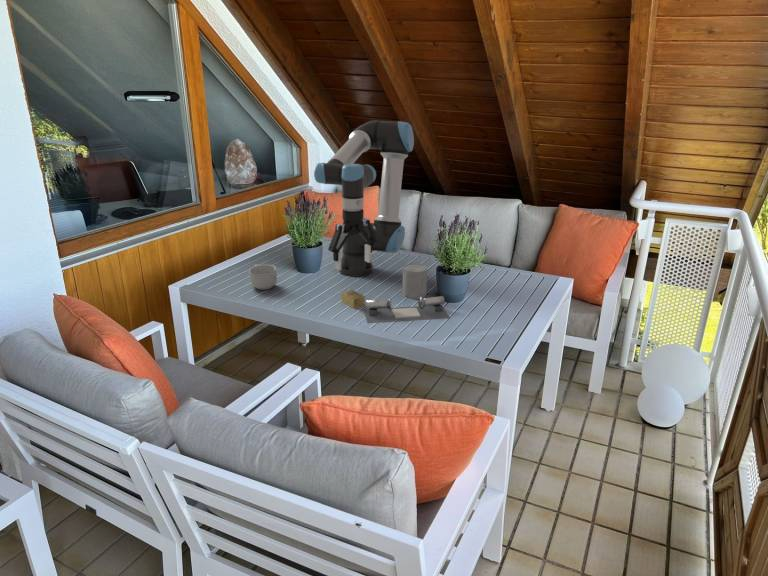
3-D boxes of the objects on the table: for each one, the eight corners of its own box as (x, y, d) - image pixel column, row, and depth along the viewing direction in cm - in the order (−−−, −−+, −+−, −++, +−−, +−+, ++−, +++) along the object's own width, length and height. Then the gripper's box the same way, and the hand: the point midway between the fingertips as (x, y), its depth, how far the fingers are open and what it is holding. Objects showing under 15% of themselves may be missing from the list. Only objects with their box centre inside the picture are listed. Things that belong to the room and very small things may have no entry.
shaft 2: (439, 306, 216) (440, 292, 214) (444, 311, 213) (445, 296, 210) (417, 309, 213) (418, 295, 211) (422, 314, 210) (423, 299, 208)
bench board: (363, 312, 213) (363, 309, 213) (441, 307, 218) (441, 304, 218) (367, 326, 202) (367, 323, 202) (450, 321, 207) (450, 318, 207)
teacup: (279, 290, 232) (278, 271, 230) (252, 293, 229) (251, 274, 226) (272, 278, 244) (271, 260, 242) (247, 281, 241) (245, 263, 238)
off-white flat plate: (392, 310, 212) (392, 309, 212) (416, 309, 214) (416, 307, 214) (395, 318, 206) (395, 316, 206) (420, 316, 207) (420, 315, 207)
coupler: (341, 304, 220) (341, 292, 218) (352, 301, 223) (352, 289, 221) (353, 311, 214) (353, 299, 212) (364, 308, 217) (364, 296, 215)
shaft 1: (366, 315, 208) (366, 301, 206) (366, 310, 212) (366, 296, 210) (391, 315, 208) (391, 301, 206) (390, 310, 212) (391, 296, 210)
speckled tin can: (398, 294, 230) (399, 265, 226) (420, 291, 234) (421, 262, 229) (407, 303, 222) (408, 273, 218) (430, 299, 225) (431, 270, 221)
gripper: (330, 216, 194) (331, 275, 202) (386, 205, 209) (385, 261, 217) (317, 211, 199) (319, 269, 207) (373, 202, 214) (373, 256, 222)
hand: (353, 265), depth 212 cm, fingers open, 13 cm apart
